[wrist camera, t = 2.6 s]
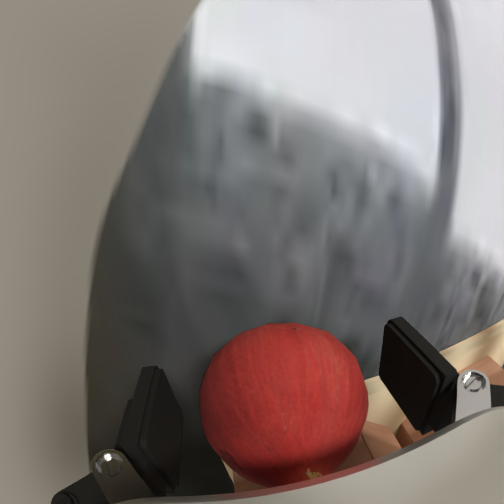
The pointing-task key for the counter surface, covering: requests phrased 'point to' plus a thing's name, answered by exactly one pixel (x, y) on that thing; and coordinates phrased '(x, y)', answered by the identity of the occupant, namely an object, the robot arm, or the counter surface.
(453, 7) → the counter surface
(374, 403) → the pot board
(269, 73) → the counter surface
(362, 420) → the onion
